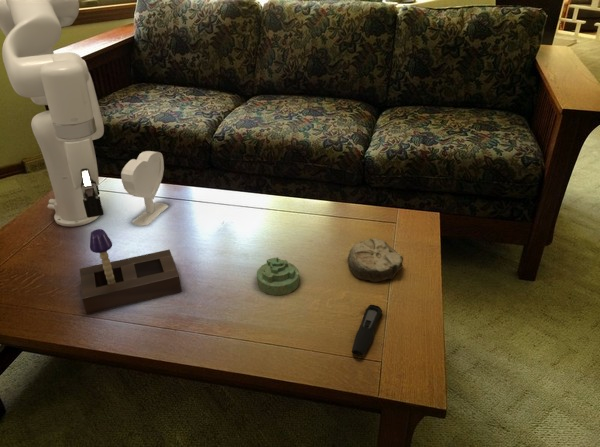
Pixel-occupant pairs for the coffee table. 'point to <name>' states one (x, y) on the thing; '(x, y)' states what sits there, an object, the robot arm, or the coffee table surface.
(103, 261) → the toy lamp
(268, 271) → the decorative artifact
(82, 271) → the frame
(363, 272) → the stone
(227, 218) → the coffee table surface
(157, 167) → the heart sculpture
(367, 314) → the electric trimmer
